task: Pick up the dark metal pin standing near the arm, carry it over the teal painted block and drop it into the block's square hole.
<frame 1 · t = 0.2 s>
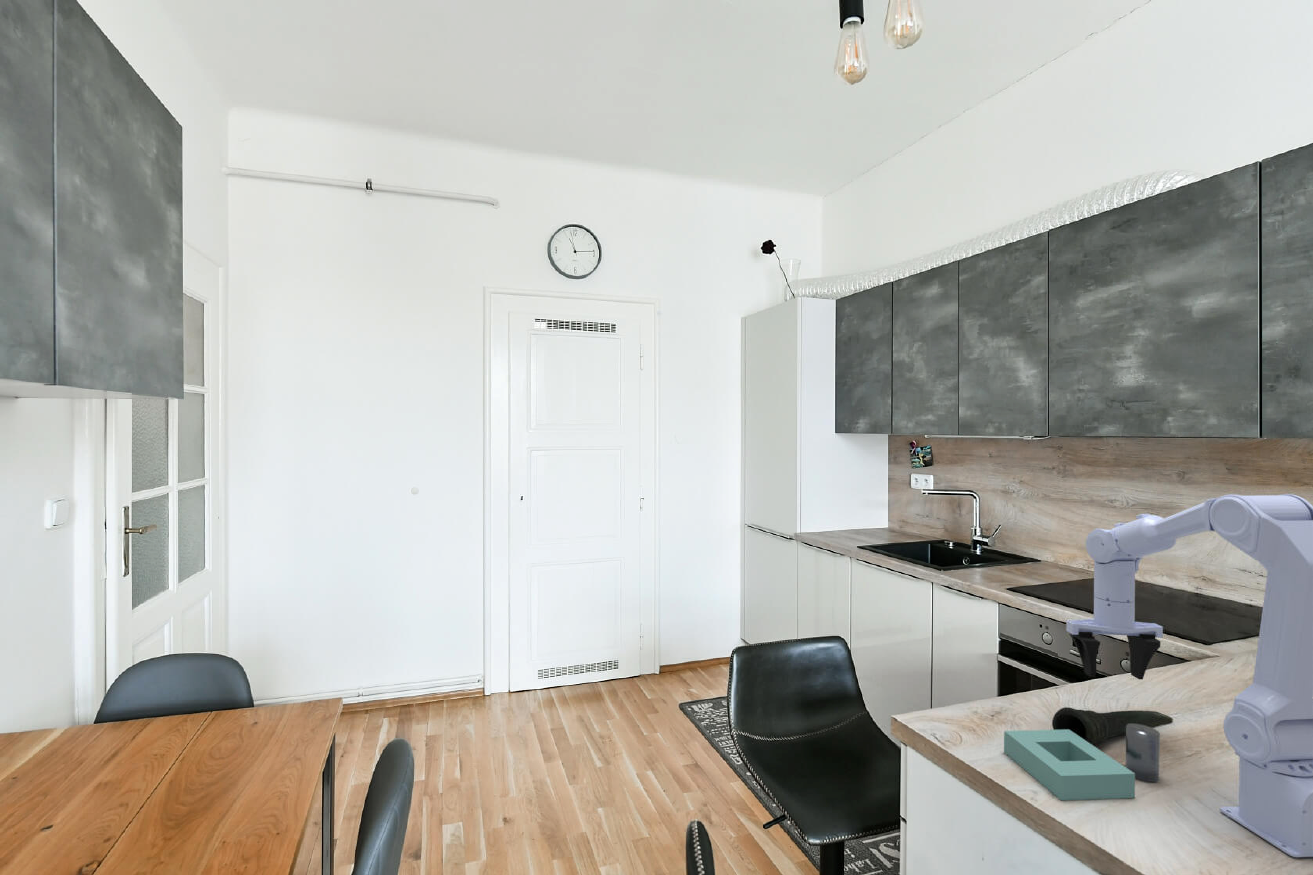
hand: (1113, 676, 107), 10 cm above the counter, fingers open, 7 cm apart
pin: (1142, 775, 94), on the counter
hole block: (1065, 773, 94), on the counter
tool: (1113, 733, 108), on the counter
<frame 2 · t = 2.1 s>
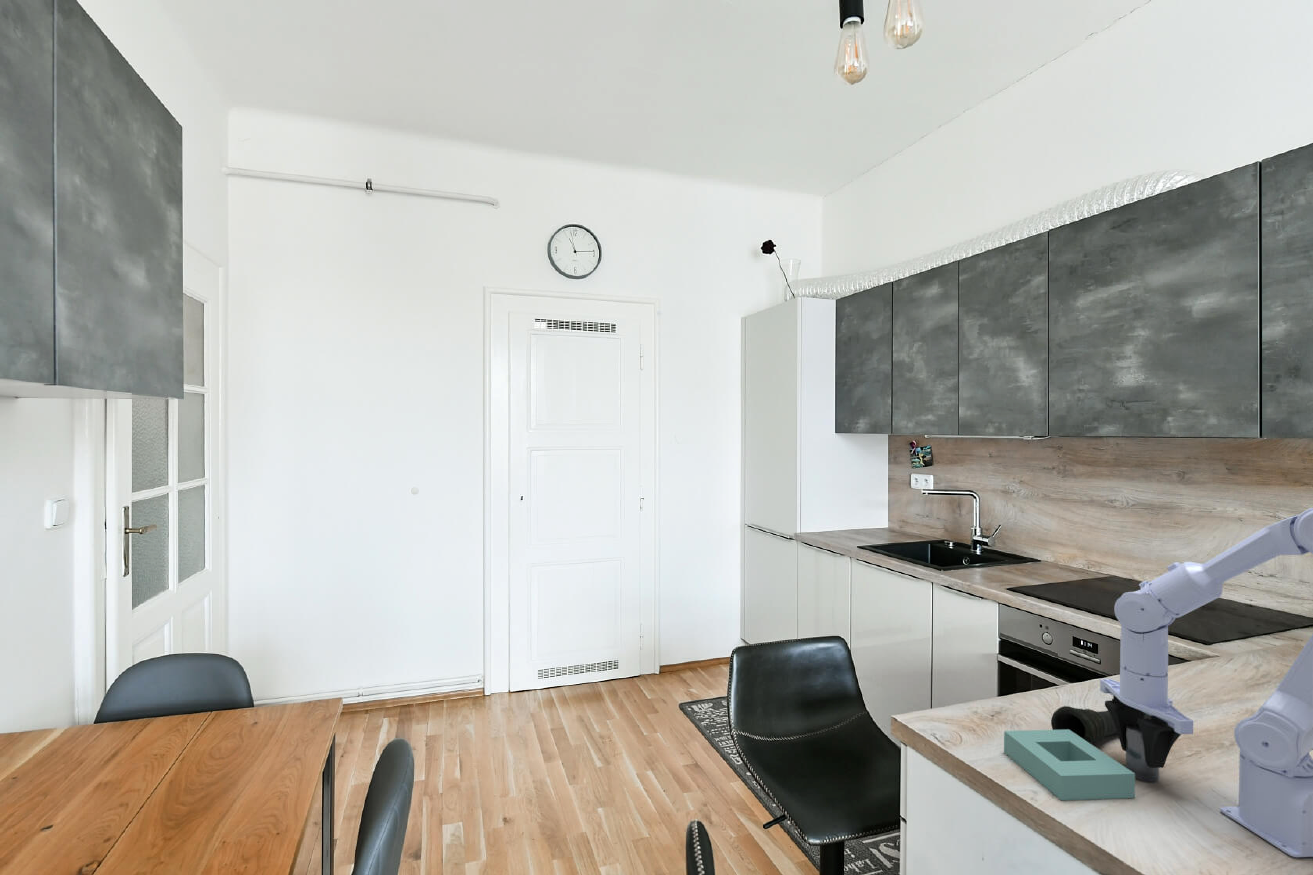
hand: (1142, 758, 94), 3 cm above the counter, fingers closed on pin, 4 cm apart
pin: (1142, 775, 94), on the counter, touching gripper
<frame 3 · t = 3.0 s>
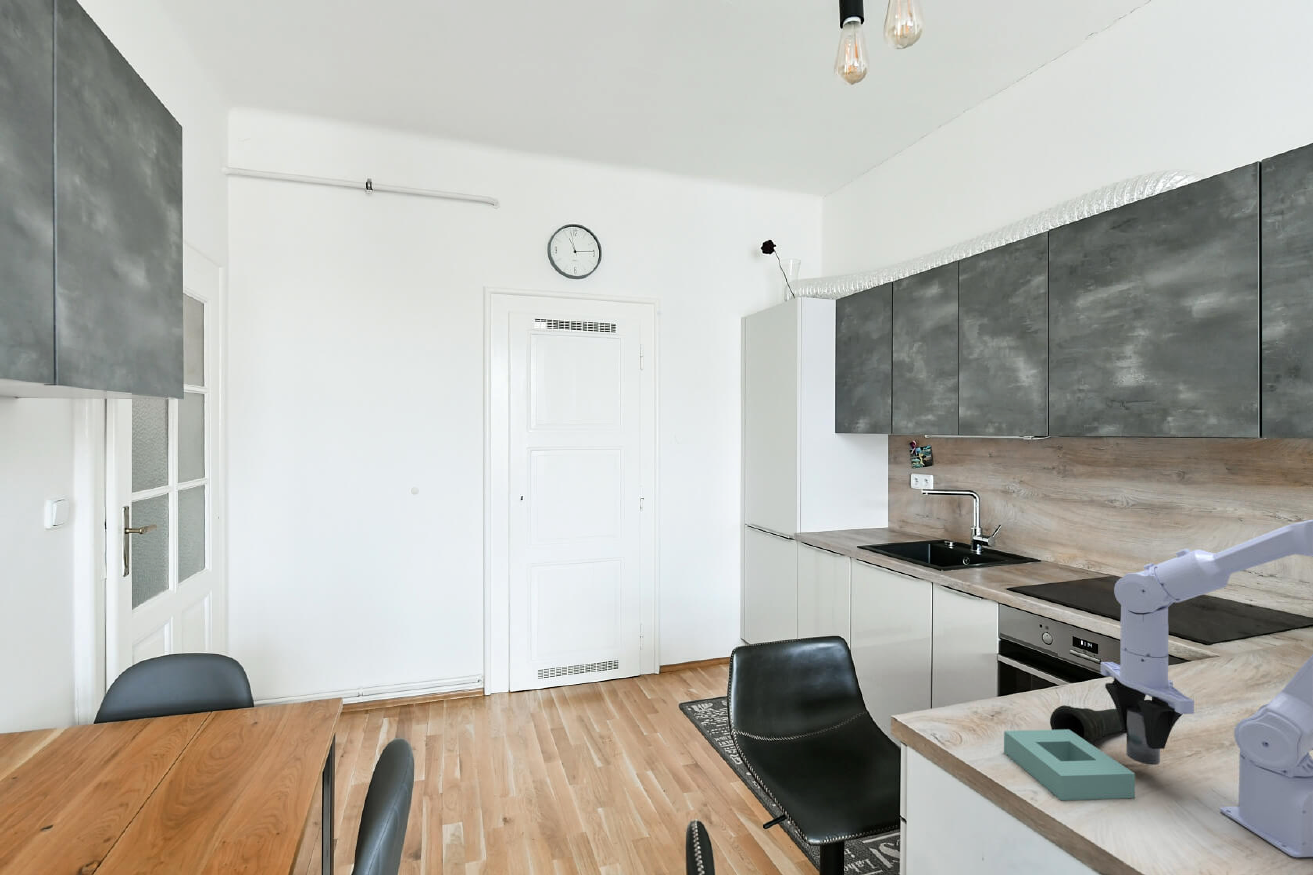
hand: (1143, 739, 93), 5 cm above the counter, fingers closed on pin, 4 cm apart
pin: (1142, 757, 93), point 3 cm above the counter, touching gripper
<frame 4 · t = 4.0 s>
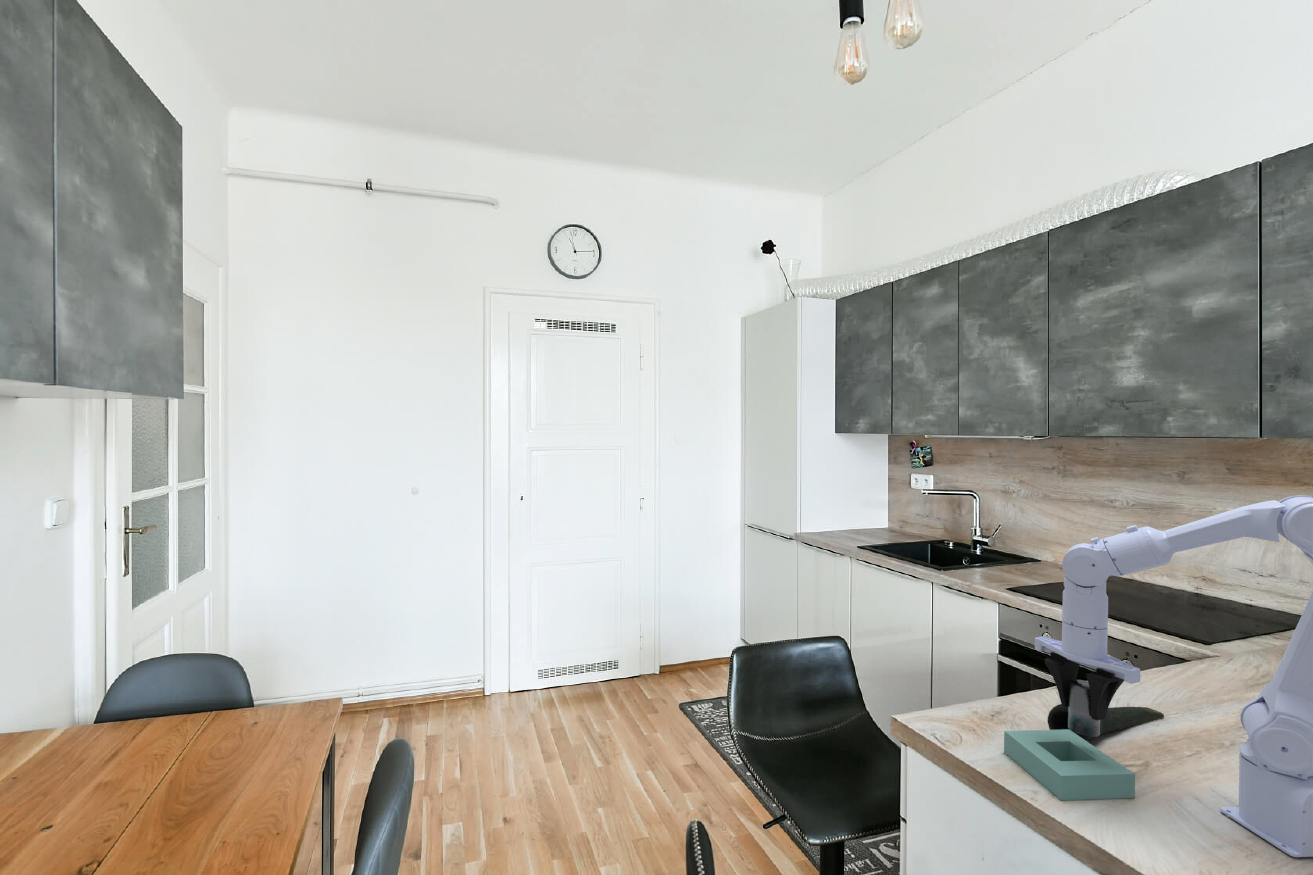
hand: (1082, 711, 94), 10 cm above the counter, fingers closed on pin, 4 cm apart
pin: (1083, 730, 94), point 7 cm above the counter, touching gripper
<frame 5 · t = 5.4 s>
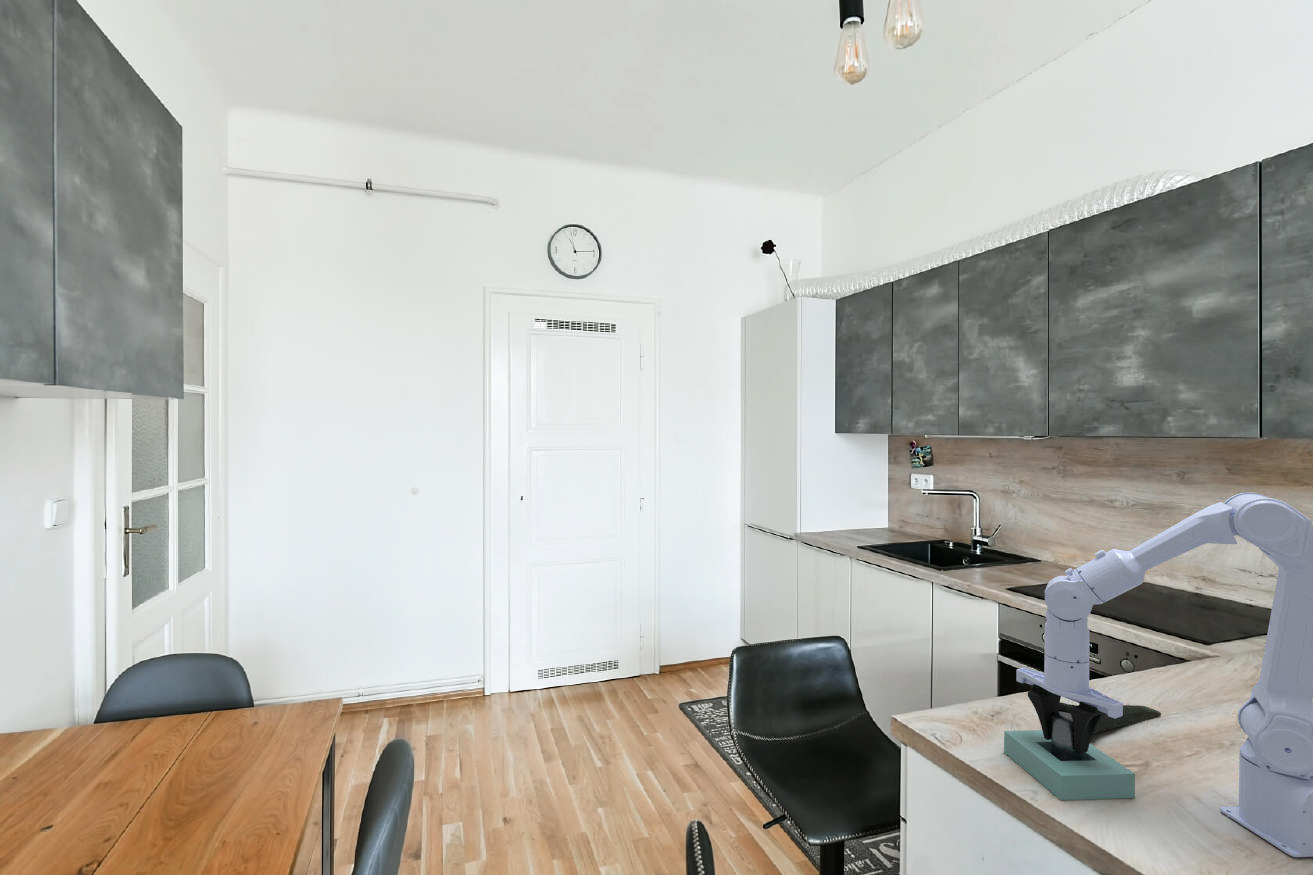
hand: (1065, 744, 94), 4 cm above the counter, fingers closed on pin, 4 cm apart
pin: (1066, 762, 94), point 2 cm above the counter, touching gripper
when the fingers open (4 cm above the counter, at t = 6.2 s): pin drops 2 cm, on the counter.
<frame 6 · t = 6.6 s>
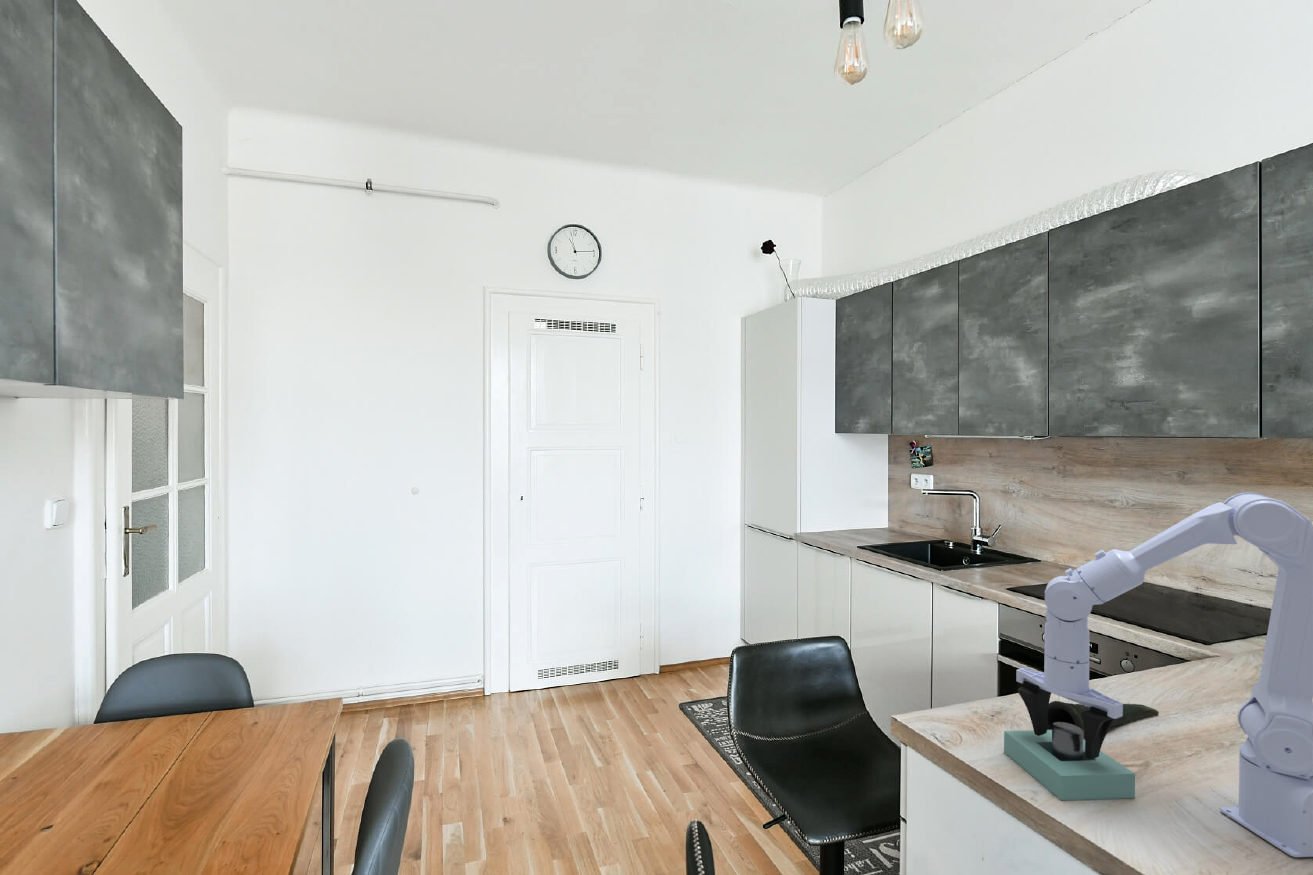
hand: (1065, 744, 94), 4 cm above the counter, fingers open, 7 cm apart
pin: (1066, 773, 94), on the counter
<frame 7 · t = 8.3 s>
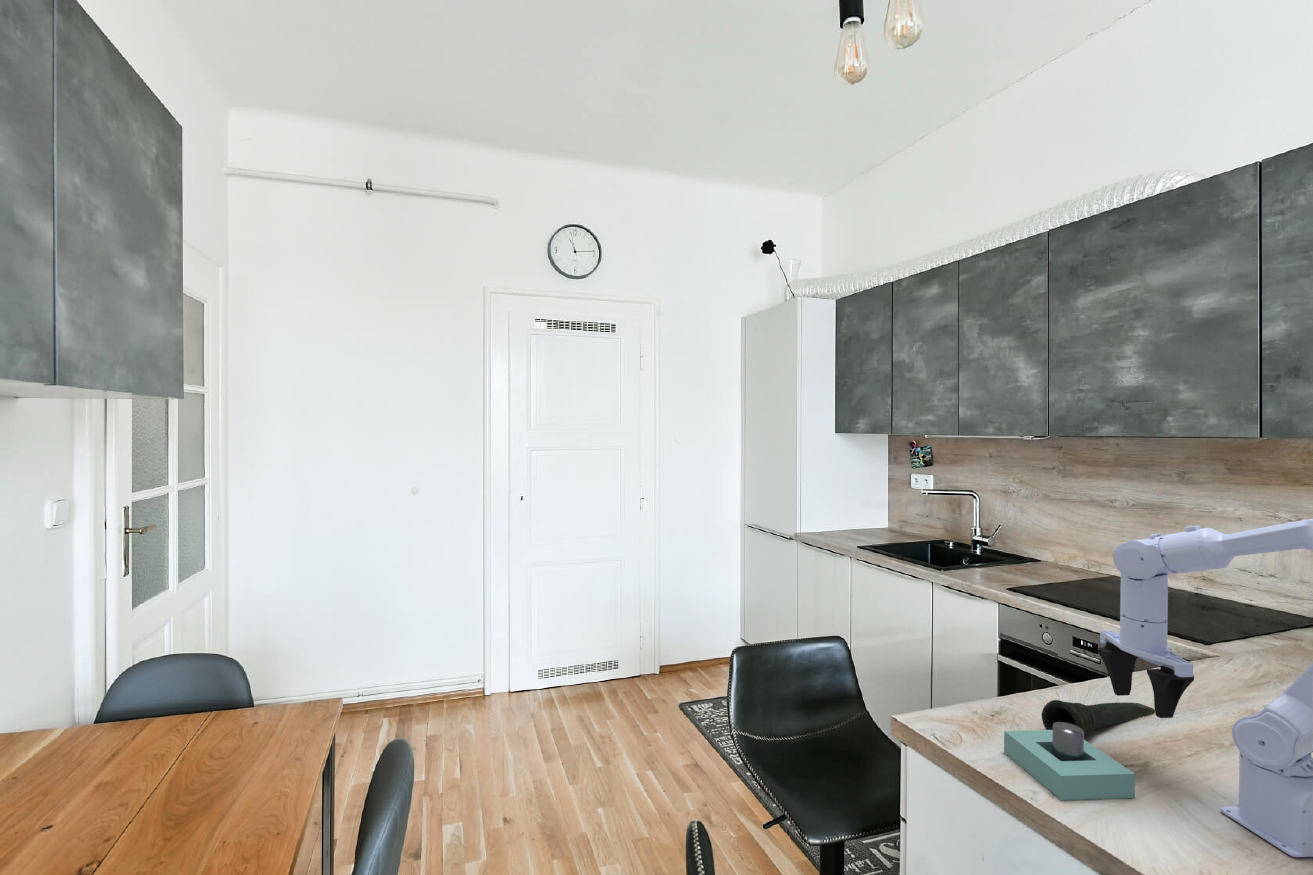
hand: (1142, 705, 94), 10 cm above the counter, fingers open, 7 cm apart
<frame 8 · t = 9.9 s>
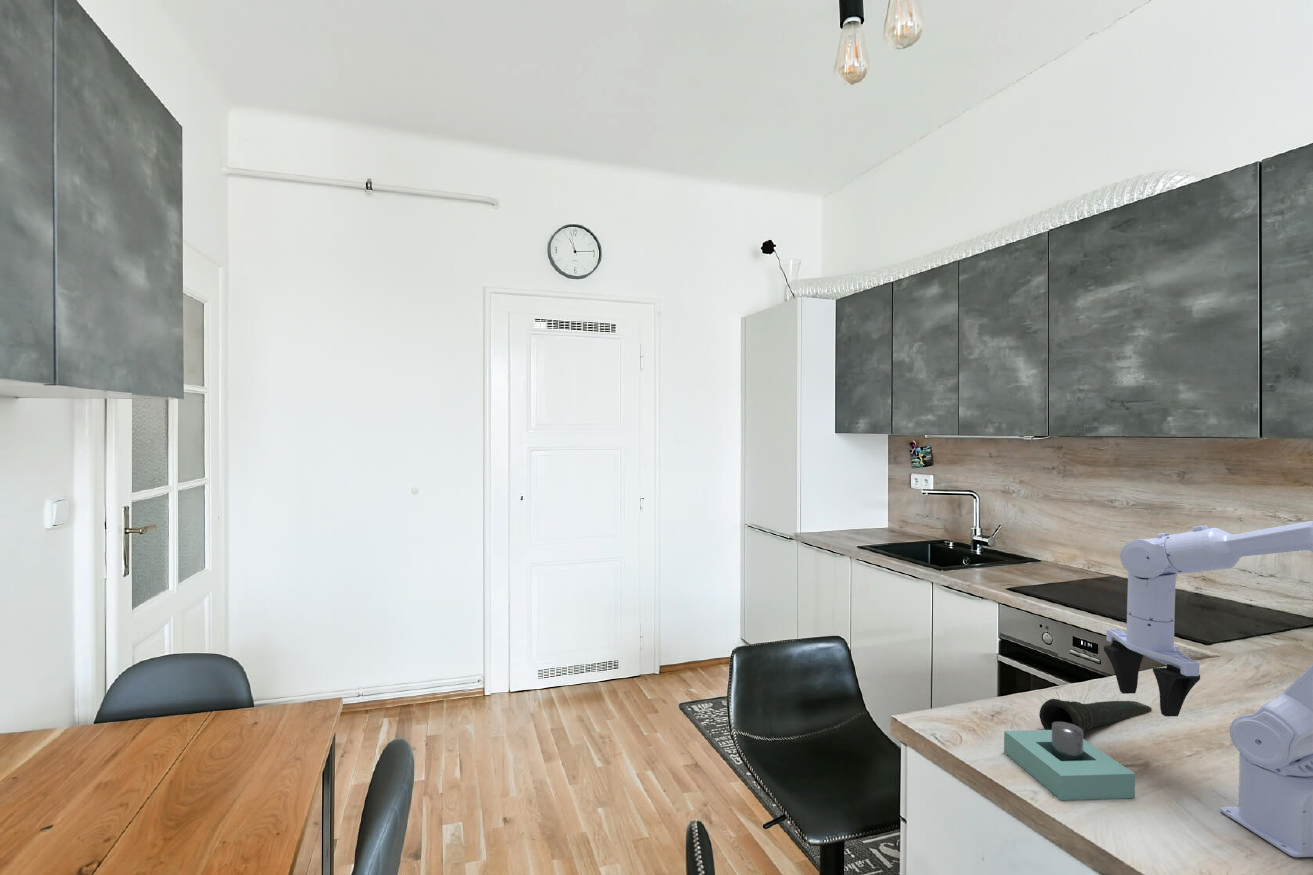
hand: (1148, 703, 95), 10 cm above the counter, fingers open, 7 cm apart
at the end: pin 0.3 cm off-centre on the hole block, point 0.0 cm above the hole block's base; pin tilted 1°; the gripper is holding nothing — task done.
